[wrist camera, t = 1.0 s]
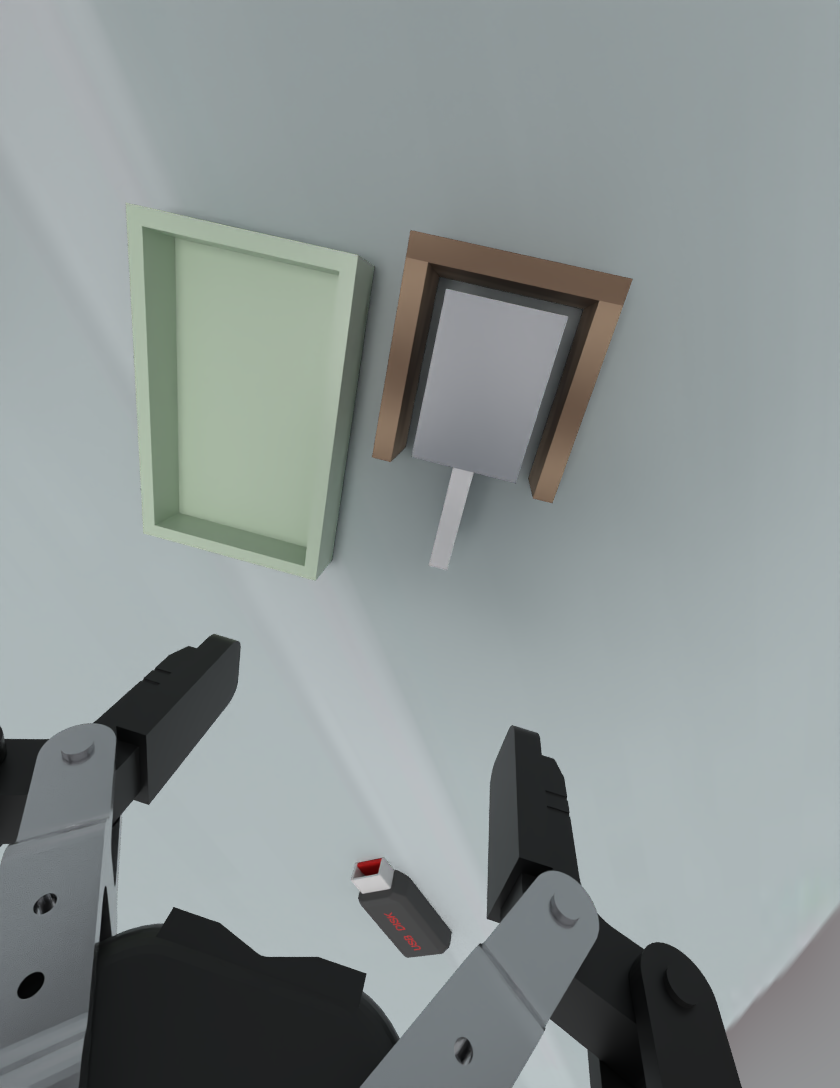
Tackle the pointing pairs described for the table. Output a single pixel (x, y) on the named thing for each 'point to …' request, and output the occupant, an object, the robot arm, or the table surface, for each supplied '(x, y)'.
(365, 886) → the usb drive
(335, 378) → the tray
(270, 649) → the table surface
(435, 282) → the u-shaped wooden frame
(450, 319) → the grey block with stick
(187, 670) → the robot arm
